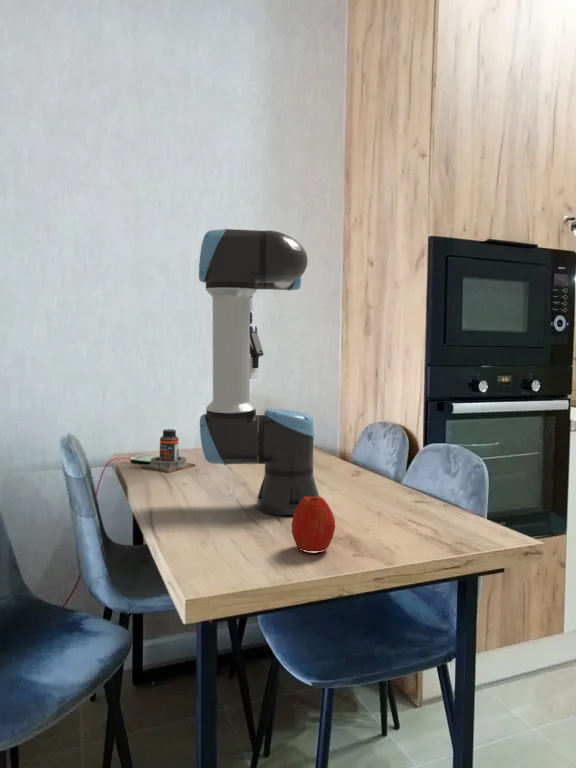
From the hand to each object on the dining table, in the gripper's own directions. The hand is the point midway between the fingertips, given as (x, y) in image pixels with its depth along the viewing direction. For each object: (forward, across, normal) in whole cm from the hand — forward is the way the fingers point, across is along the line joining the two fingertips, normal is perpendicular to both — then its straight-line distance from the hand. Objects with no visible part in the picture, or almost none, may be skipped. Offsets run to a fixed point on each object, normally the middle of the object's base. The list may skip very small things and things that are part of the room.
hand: (240, 378), depth 174 cm
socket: (+29, +14, +18) cm, 37 cm away
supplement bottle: (+28, +14, +18) cm, 36 cm away
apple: (+29, -68, +34) cm, 82 cm away
